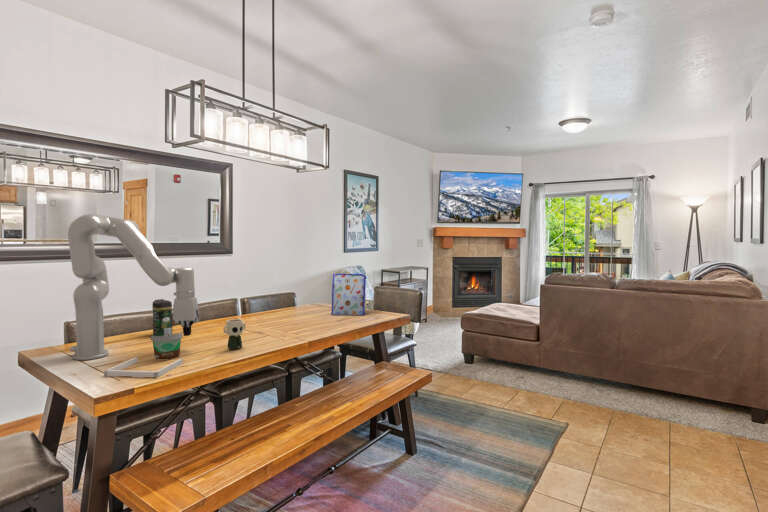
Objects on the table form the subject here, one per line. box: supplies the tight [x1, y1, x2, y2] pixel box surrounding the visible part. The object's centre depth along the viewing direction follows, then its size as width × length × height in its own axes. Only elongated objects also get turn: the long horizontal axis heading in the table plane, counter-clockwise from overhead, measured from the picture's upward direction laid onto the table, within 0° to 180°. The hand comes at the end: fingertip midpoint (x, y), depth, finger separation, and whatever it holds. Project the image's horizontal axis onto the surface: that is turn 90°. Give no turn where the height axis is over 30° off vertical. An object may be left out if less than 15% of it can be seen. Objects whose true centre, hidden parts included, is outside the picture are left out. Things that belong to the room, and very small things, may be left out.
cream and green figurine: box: [222, 318, 246, 350], centre depth 192 cm, size 11×7×13 cm, turn 141°
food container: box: [150, 332, 184, 360], centre depth 176 cm, size 12×6×10 cm, turn 131°
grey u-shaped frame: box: [104, 356, 184, 378], centre depth 161 cm, size 20×17×2 cm
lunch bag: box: [330, 272, 367, 316], centre depth 280 cm, size 23×17×27 cm
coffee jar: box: [151, 298, 173, 336], centre depth 215 cm, size 10×8×19 cm
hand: (187, 335), depth 189 cm, fingers closed
